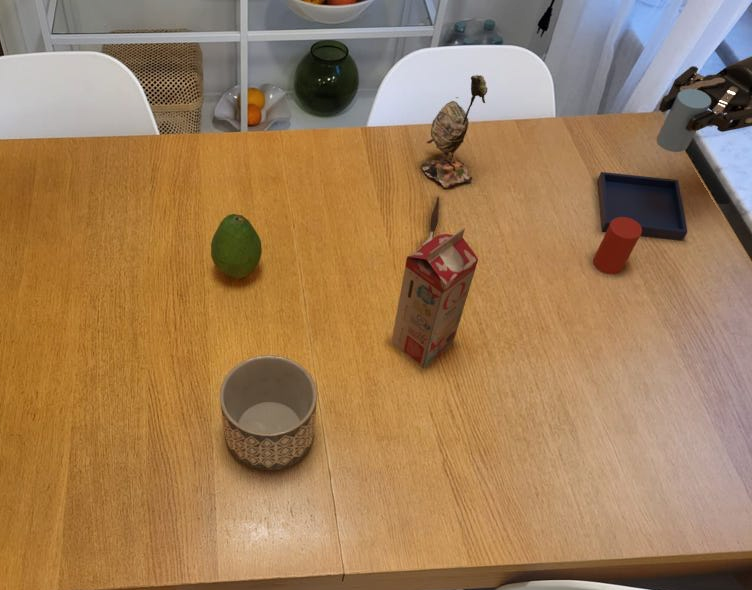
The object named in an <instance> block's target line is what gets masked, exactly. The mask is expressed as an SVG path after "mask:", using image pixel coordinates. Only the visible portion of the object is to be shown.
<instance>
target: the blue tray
mask: <svg viewBox="0 0 752 590" xmlns="http://www.w3.org/2000/svg"><path fill="white" fill-rule="evenodd" d="M596 181H597V193H598V204H599V215H600V226H601V232H603V233H606V231H607V229H608V227H609V225H610V223H611V221H612V220H613V219H615V218H618V217H627V218H631V219H633V220H635V221H636V222H638V223H639V224H640V226H641V228H642V233H641V235H640V237H648V238H657V239H662V240H663V239H665V240H673V241H683V240H684V239H685V237H686V235H687V234H688V227H687V222H686V221H687V219H686V216H685V210H684V203H683V199H682V193H681V188H680V182H679V179H674V178H673V179H671V178H663V177H654V176H645V175H635V174H625V173H617V172H615V173H614V172H606V171H605V172H604V171H600V173H599V176H598V177H597V179H596Z"/></svg>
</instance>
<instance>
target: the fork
mask: <svg viewBox="0 0 752 590" xmlns="http://www.w3.org/2000/svg"><path fill="white" fill-rule="evenodd" d="M439 203H440V196H438V197H437V198H436V201H435V206H434V208H433V211H432V214H431V218H430V234H429V237H428V238H427V239H426V240H425V241H424V242H423V244H422V245H421V246H420V247H422V246H423V245H425V244H426V243H427V242H429V241H430V240H432V239H433V238H434V237H433V235H434V232H435V230H436V227H437V224H438V220H439Z"/></svg>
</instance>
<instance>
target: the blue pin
mask: <svg viewBox="0 0 752 590" xmlns="http://www.w3.org/2000/svg"><path fill="white" fill-rule="evenodd" d="M710 104H711V98H710V97H709V96H708V95H707V94H706V93H704V92H702V91H700V90H696V89H684V90H682V91H680V92H679V93H678V95H677V97H676V99H675V101H674V103H673V105H672V107H671V109H670V110H668V114H667V115H666V118H665V120H664V122H663V123H662V126H661V128H660V130H659V133H658V134H657V136H656V142H657V145H658V146H659V147H660V148H662V149H663V150H665V151H668V152H673V153H681V152H684V151H685V150H687V149H688V148H689V145H690V144H691V142H692V139H693V138H694V136H695V135H696V132H697V131H694V130H693V131H690V132H689V131H688V130H686V126H687V124H688V122H689V121H690V119H691V118H692V117H694V116H696V115H698V114H700V113H703V112H705V111H707V110H709V106H710Z"/></svg>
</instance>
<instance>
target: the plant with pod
mask: <svg viewBox="0 0 752 590" xmlns="http://www.w3.org/2000/svg"><path fill="white" fill-rule="evenodd" d="M470 80H471V82H470V93H471V97H470V103H469V106H468V107H467V110H466V112H465V110H464V108H463V107H462V106H460V105H459V103H458V102H457V101H455V100H451V101H449V102H447V103H446V104H444V106H443V107H441V109H440V110H439V111H438V113H437V114H436V115H435V117H434V119H432V121H431V122H432V123H431V129H430V137H431V138H430V139H428V140H426V144H431V143H433V142H434V144H435V146H436V149H438V150H440V151H441V152H442V153H443V154H440V156H439V157H438V158H435V159H433V160H428V161H427V162H423V163H422V164H420V168H421V170H422V171H424V174H426V176H427V177H429V178H432V179H434V180H435V181H436V182H439V183H440V184H441V186H442V187H443V188H450V187H453V185H457V184H460V183H462V184H463V183H465V182H467V183H468V182H472V180H473V177H472V176H471V174H469V171H468V169H467V165H465V163H464V162H462V160H459V159H456V158H454V154H455V153H456V152H457V150H458V149H459V148H460V147H461V146H462V144H463V143H464V140H465V136H466V135H467V131H468V128H469V118H468V115H469V113H470V111H471V107H472V106H473V104H474V101H475V99H476V97H479V98H481V102H482V103H483V104H486V99H485V96H486V95H487V93H488V90H489V89H488V86H487V82H486V80H485V76H484V75H480V74H479V75H478V74H475V75H472V76H470ZM455 98H456V99H459V97H458V96H457V97H456V96H455Z"/></svg>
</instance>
